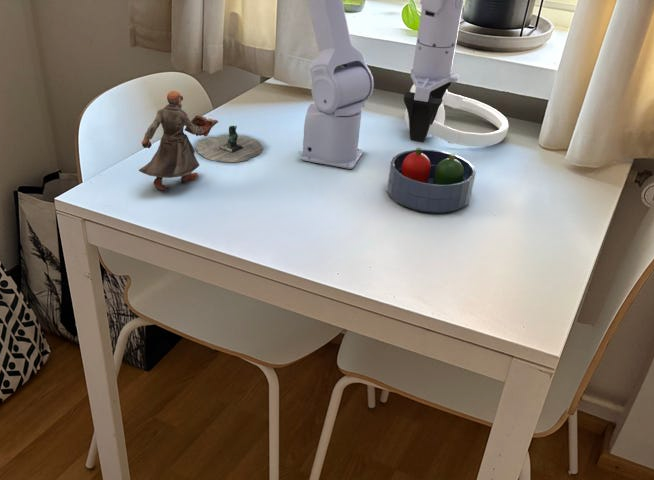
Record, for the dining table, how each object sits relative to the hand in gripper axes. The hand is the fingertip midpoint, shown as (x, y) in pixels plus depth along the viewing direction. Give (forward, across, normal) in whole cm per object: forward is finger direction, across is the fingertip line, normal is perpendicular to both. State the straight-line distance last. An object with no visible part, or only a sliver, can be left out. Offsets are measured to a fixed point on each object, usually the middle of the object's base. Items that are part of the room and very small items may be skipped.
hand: (421, 131), depth 118 cm
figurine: (+11, -13, +36) cm, 40 cm away
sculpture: (+11, +4, +34) cm, 36 cm away
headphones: (+11, +30, -3) cm, 32 cm away
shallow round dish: (+10, 0, -3) cm, 11 cm away
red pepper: (+10, 0, 0) cm, 10 cm away
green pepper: (+10, 0, -5) cm, 11 cm away
